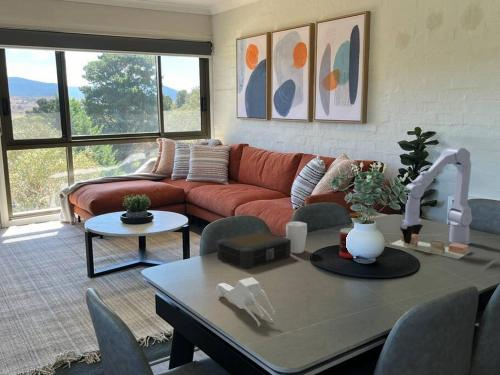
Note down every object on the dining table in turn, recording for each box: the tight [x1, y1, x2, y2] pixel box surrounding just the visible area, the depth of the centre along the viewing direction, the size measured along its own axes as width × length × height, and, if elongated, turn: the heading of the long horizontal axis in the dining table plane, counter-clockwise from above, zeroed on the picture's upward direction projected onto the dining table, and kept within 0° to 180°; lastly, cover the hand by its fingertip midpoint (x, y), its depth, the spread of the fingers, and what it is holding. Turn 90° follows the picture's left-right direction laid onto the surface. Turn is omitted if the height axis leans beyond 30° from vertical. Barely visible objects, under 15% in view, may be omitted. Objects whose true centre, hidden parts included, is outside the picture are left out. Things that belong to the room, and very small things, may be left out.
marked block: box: [403, 242, 418, 249], centre depth 207 cm, size 4×4×4 cm
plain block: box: [430, 239, 446, 255], centre depth 199 cm, size 4×4×4 cm
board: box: [390, 239, 471, 260], centre depth 205 cm, size 13×30×1 cm, turn 45°
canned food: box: [339, 227, 354, 259], centre depth 196 cm, size 8×8×11 cm
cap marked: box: [400, 234, 421, 244], centre depth 207 cm, size 6×6×3 cm
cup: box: [285, 221, 308, 254], centre depth 203 cm, size 9×9×12 cm
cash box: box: [216, 230, 292, 270], centre depth 195 cm, size 25×20×8 cm
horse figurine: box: [215, 276, 276, 328], centre depth 144 cm, size 5×16×25 cm
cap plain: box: [448, 242, 469, 254], centre depth 200 cm, size 6×6×3 cm
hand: (410, 241), depth 207 cm, fingers closed on cap marked, 6 cm apart
